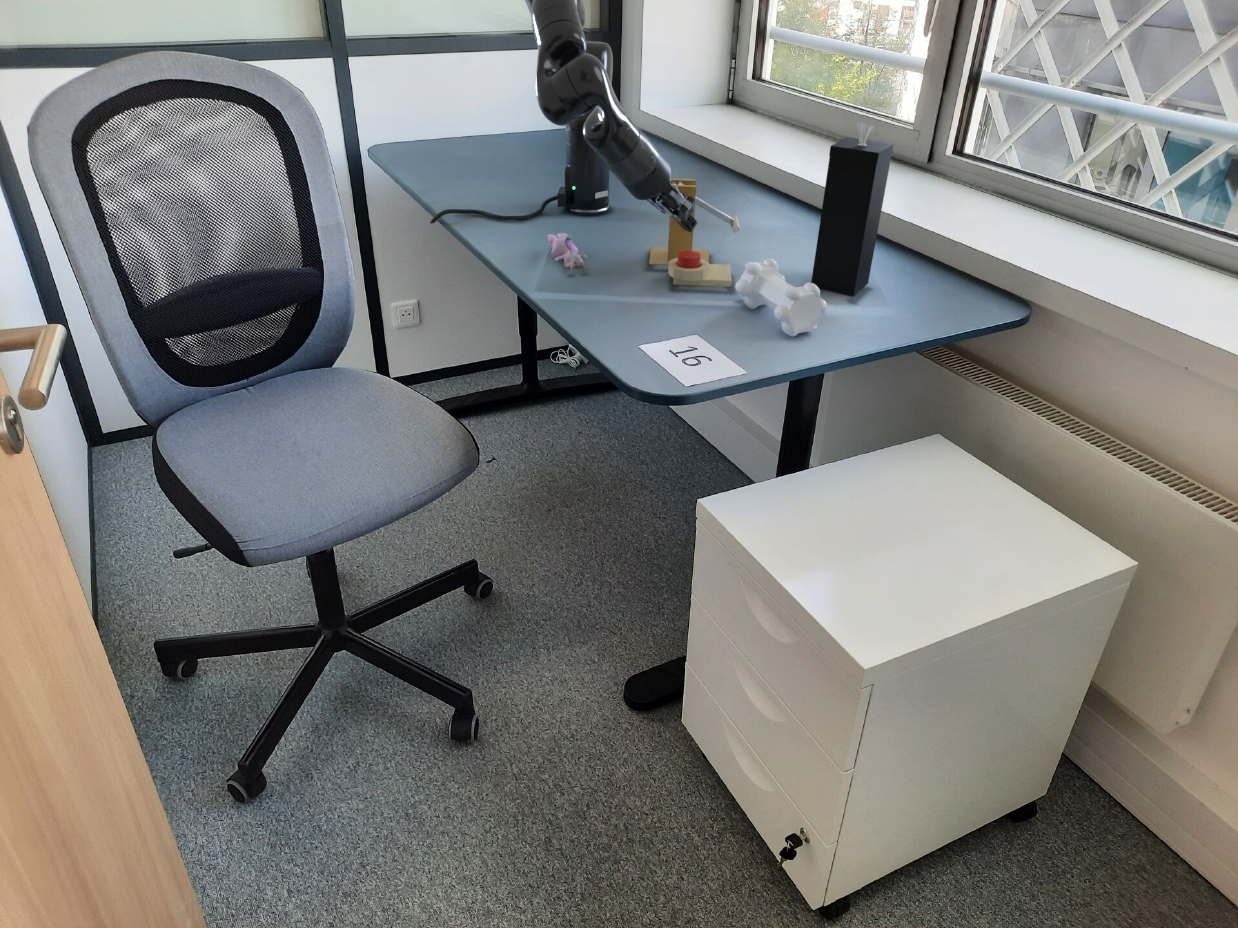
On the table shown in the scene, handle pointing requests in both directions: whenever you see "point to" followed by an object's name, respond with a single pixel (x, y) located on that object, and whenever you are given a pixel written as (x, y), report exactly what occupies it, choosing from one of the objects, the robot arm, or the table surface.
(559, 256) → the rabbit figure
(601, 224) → the table surface
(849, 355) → the table surface
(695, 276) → the button box
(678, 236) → the bracket
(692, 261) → the button
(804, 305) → the dog bone
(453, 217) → the table surface
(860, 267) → the tissue box
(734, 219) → the tap lever
